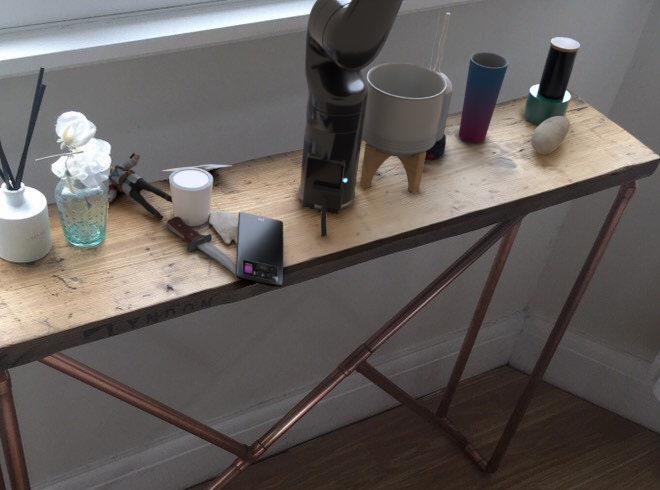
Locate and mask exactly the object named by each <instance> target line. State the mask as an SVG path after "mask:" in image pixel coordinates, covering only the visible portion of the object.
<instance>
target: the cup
mask: <svg viewBox="0 0 660 490" xmlns="http://www.w3.org/2000/svg"><path fill="white" fill-rule="evenodd" d="M509 63H510V62H509V60H508V59H507V57H505V56H503V55H502V54H499V53H496V52H491V51H476V52H474V53H472V54H471V55H470V57H469V63H468V64H469V65H468V70H467V77H466V85H465V89H464V90H465V91H464V98H463V103H462V110H461V117H460V122H459V123H460V124H459V130H458V136H459V138H460V139H461V140H462V141H465V142H468V143H473V144H479V143H483V142H484V141H485V140H486V137H487V135H488V130H489V128H490V125H491V121H492V118H493V115H494V111H495V109H496V108H495V107H496V105H497V102H498V99H499V95H500V92H501V89H502V86H503V83H504V79H505V76H506V73H507V70H508V67H509Z"/></svg>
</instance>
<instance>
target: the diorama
mask: <svg viewBox="0 0 660 490" xmlns="http://www.w3.org/2000/svg"><path fill="white" fill-rule="evenodd" d="M232 166H233V165H232V164H231V165H230V164H215V163H213V164H212V163H211V164H200V165H195V166H182V167H174V168H167V169H163V170H161V171H162V172H174V171H176V170H178V169H182V168H199V169H203V170H209V169H217V168H218V169H219V168H225V167H232Z"/></svg>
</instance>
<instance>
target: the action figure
mask: <svg viewBox="0 0 660 490" xmlns="http://www.w3.org/2000/svg"><path fill="white" fill-rule="evenodd" d="M128 158H129V160H128V161H124V162H119V164H115V166H113V165H112V164H111V166H110V173H109V174H110V175H108V177H109V178H108V192H109V193H108V196H107V197H108V202H107V203H112V202H113V201H114V199H115V198H116V197H117V193H119V192H120V193H124V194H126V196H128V197H129V198H130V199H132V200H134V201H135V202H137V203H138V204H139V205H141V207H142V208H143V209H145V210H146V211H147V212H148V213H149V214H151V215H152V216H154V218H155V219H157V220H159V221H162V220H163V219H164V216H163V215H162V214H161V212H160V211H158V209H156V208H155V207H154V206H153V205H152V204H150V203H149V202H148V201H147V200H146V198H145V197H144V196H143V195H142V194H141V193H142V191H146V192H150V193H152V194H154V195H156V196H157V197H160V198H161V199H164V200H165V201H167V202H170V204H172V197H171V194H168V193H167V192H165V191H164V190H162V189H160V188H159V187H156V186H155V185H153V184H151V183H150V182H148V181H147V180H145V179H144V178H143V177H141V176H139V175H138V174H136V171H135V170H134V169H133V168H134V167H137V165H138V164H139V162H140V160H141V155H140V154H139V153H137V154H136V153H135V152H133V153H132V154H131V155H130V156H129V157H128Z"/></svg>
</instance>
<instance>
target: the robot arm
mask: <svg viewBox="0 0 660 490" xmlns="http://www.w3.org/2000/svg"><path fill="white" fill-rule="evenodd" d="M403 2H404V0H315V2H314V3H313V5H312V7H311V9H310V12H309V14H308V19H307V24H306V32H305V51H304V52H305V53H304V79H305V84H306V87H307V99H306V110H305V111H306V112H305V121H304V134H303V144H302V159H301V167H300V168H301V169H300V182H299V187H298V199H299V200H300V202H301V203H302V204H301V207H302V208H305V209H310V210H315V211H319V212H320V236H321V237H323V238H325V237H327V236H328V229H327V228H328V227H327V219H328V218H327V217H328V216H327V215H328V213H329V214H333V215H339V213H340V212H341V211H344V210H347V209H348V208H350V207H351V206H352V205H353V204H354V202H355V197H356V186H357V178H358V171H359V162H360V155H361V147H362V141H363V139H362V134H363V126H364V120H365V112H366V105H367V98H368V87H367V84H366V79H365V77H364V74H363V69H365V68H367V67H368V66H370V64H371V63H373V62H374V61H375V60H376V58H377V57H378V56H379V55H380V53H381V51H382V50H383V48H384V46H385V45H386V42H387V40H388V37H389V36H390V33H391V31H392V28H393V26H394V23H395V21H396V18H397V16H398V14H399V11H400V9H401V7H402V4H403Z"/></svg>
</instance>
